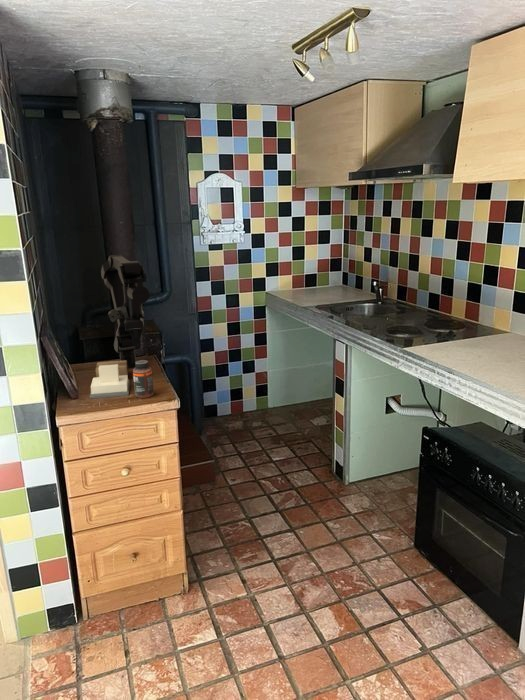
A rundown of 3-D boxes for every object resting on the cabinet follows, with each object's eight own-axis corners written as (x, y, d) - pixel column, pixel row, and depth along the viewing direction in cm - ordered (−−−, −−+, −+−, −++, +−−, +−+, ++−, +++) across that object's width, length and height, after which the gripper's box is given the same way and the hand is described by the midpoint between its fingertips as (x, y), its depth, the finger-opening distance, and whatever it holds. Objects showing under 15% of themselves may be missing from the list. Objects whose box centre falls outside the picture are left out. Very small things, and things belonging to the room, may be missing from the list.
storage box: (98, 375, 193) (97, 362, 191) (127, 373, 195) (126, 360, 193) (96, 382, 185) (95, 369, 184) (126, 380, 187) (125, 366, 186)
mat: (93, 384, 184) (93, 382, 184) (129, 381, 186) (129, 379, 186) (89, 398, 171) (89, 396, 171) (128, 395, 173) (128, 393, 173)
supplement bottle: (155, 391, 176) (152, 358, 173) (152, 398, 170) (149, 364, 167) (136, 392, 176) (134, 359, 173) (133, 399, 170) (130, 364, 167)
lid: (93, 384, 182) (91, 363, 180) (128, 382, 184) (126, 360, 182) (91, 394, 173) (89, 371, 171) (127, 391, 175) (125, 369, 173)
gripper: (110, 295, 192) (114, 337, 196) (106, 305, 175) (110, 351, 179) (142, 293, 194) (145, 335, 199) (141, 303, 177) (145, 349, 181)
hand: (136, 342), depth 189 cm, fingers open, 9 cm apart
